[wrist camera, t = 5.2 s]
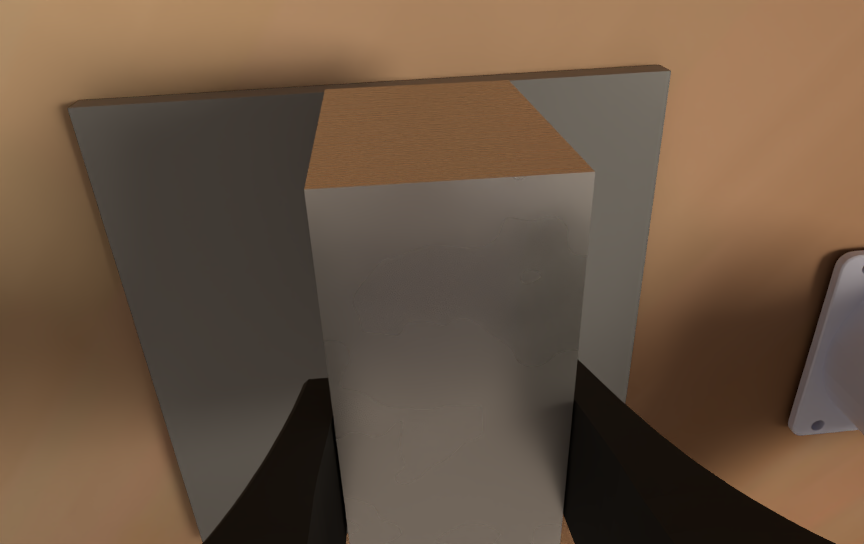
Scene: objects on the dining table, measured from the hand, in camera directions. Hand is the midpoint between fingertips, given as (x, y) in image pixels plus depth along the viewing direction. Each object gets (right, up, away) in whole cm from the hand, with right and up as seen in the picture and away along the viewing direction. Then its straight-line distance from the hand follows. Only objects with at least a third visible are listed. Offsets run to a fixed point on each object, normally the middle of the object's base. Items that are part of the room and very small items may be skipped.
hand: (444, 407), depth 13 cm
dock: (-1, +1, +9) cm, 9 cm away
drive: (0, +2, +4) cm, 4 cm away
